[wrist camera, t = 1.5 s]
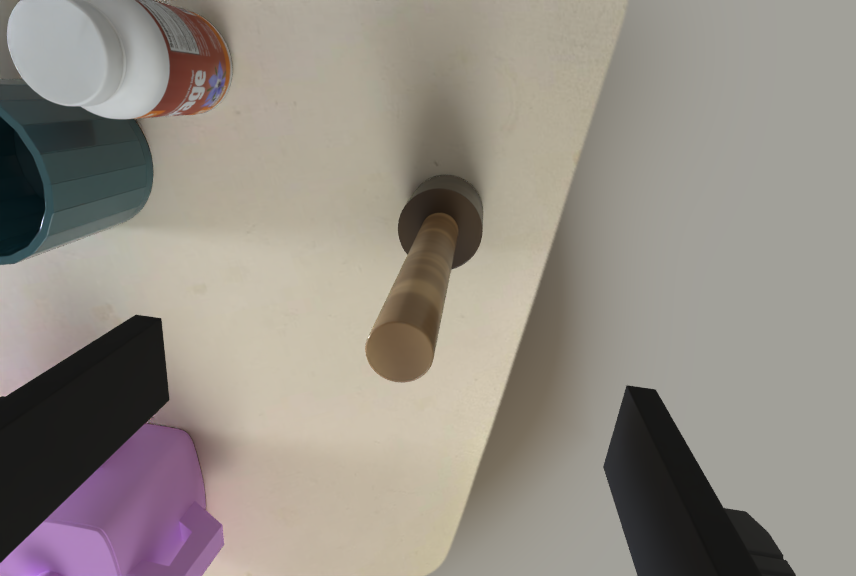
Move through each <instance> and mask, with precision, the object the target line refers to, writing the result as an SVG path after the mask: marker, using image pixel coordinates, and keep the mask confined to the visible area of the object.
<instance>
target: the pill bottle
mask: <svg viewBox="0 0 856 576" xmlns="http://www.w3.org/2000/svg"><path fill="white" fill-rule="evenodd" d="M7 40H8V47H9V51H10V55H11V58H12V60H13V63H14V65H15V67H16V69H17V71H18V72H19V74H20V75H21V77H22V78H23V79H24V81H25V82H26V83H27V84H28V85H29V86H30V87H31V88H32V89H33V90H34V91H35V92H36V93H38V94H39V95H40V96H42V97H43V98H45V99H47V100H49V101H51V102H53V103H56V104H60V105H64V106H81V107H82V108H84V109H86V110H87V111H89V112H91V113H93V114H96V115H99V116H102V117H105V118H111V119H138V118H150V117H163V116H179V115H194V114H200V113H204V112H207V111H210V110H212V109H213V108H215V107H216V106H217V105H219V104H220V103H221V102H222V100H223V99H224V98H225V96H226V94H227V92H228V90H229V87H230V84H231V80H232V60H231V55H230V52H229V49H228V47H227V44H226V42H225V41H224V39H223V37H222V36H221V34H220V33H219V32H218V30H217V29H216V28H215V27H214V26H213V25H212V24H211V23H210V22H209V21H207V20H206V19H205V18H203V17H202V16H200V15H198V14H196V13H194V12H191V11H188V10H185V9H181V8H177V7H174V6H171V5H167V4H163V3H160V2H157V1H154V0H20V1H19V3H18V4H17V5H16V6H15V8H14V9H13V11H12V13H11V16H10V18H9V22H8V27H7Z"/></svg>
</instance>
